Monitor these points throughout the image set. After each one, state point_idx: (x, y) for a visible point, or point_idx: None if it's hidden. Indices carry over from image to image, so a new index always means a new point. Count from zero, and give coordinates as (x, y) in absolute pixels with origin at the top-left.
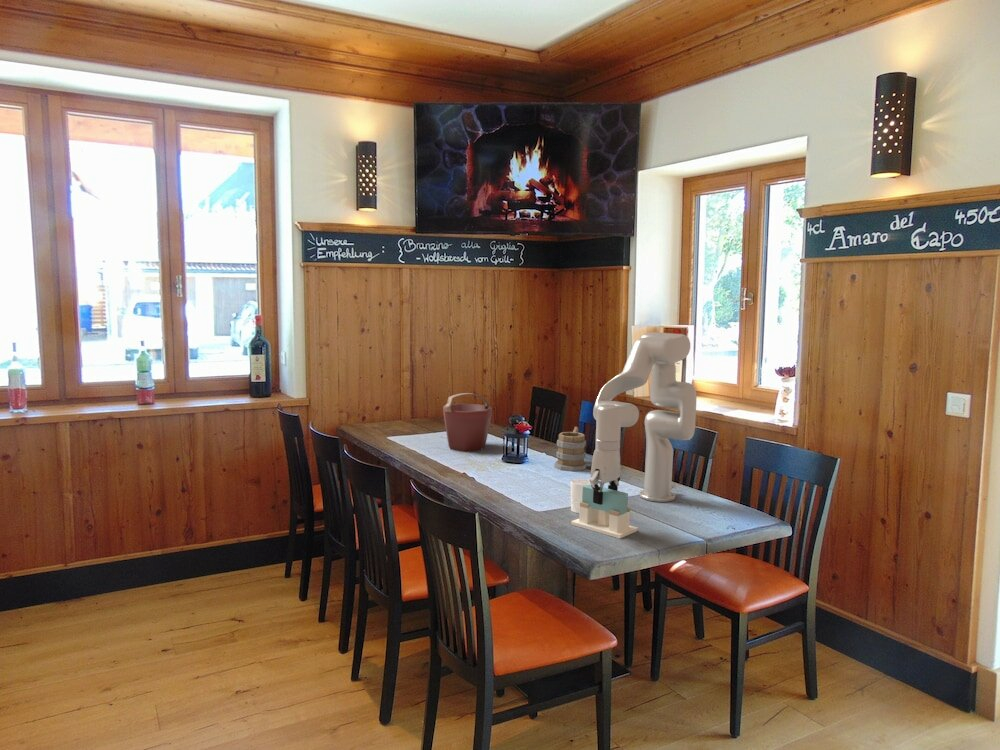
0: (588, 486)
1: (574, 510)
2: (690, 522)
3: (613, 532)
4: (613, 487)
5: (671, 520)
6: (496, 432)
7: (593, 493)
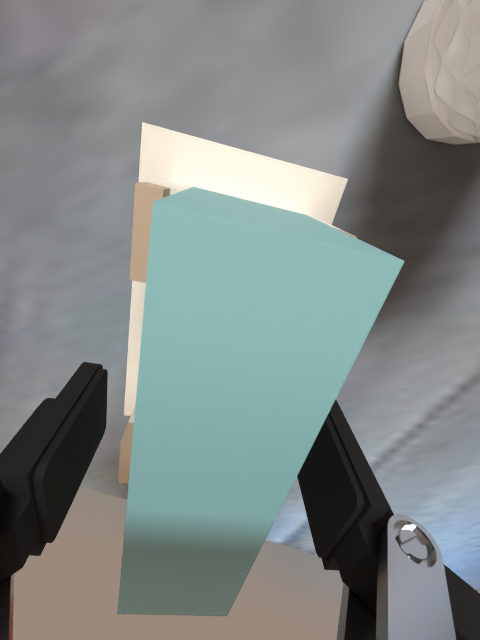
0: (239, 294)
1: (420, 14)
2: (418, 498)
3: (136, 386)
4: (328, 538)
5: (422, 462)
6: None
7: (33, 432)
